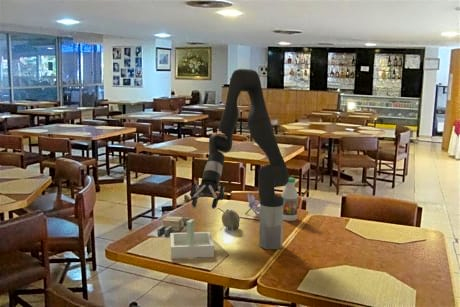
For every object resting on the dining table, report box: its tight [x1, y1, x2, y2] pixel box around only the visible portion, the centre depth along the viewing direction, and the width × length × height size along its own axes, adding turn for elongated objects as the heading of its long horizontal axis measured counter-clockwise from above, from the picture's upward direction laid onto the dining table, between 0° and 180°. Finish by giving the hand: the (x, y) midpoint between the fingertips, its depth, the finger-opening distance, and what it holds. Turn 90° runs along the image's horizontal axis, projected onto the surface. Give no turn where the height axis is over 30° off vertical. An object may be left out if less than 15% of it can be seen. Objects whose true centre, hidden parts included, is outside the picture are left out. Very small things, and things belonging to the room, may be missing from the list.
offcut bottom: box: [160, 222, 184, 231], centre depth 209 cm, size 6×8×2 cm
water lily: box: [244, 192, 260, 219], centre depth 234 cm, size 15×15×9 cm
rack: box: [146, 215, 192, 239], centre depth 207 cm, size 20×12×4 cm, turn 163°
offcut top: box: [162, 216, 182, 226], centre depth 209 cm, size 6×7×2 cm
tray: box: [169, 231, 215, 260], centre depth 185 cm, size 16×16×4 cm
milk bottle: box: [281, 176, 299, 222], centre depth 227 cm, size 8×8×20 cm
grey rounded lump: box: [221, 209, 241, 231], centre depth 211 cm, size 9×8×10 cm
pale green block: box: [186, 218, 195, 245], centre depth 184 cm, size 4×2×11 cm, turn 163°
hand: (203, 207), depth 195 cm, fingers open, 8 cm apart
